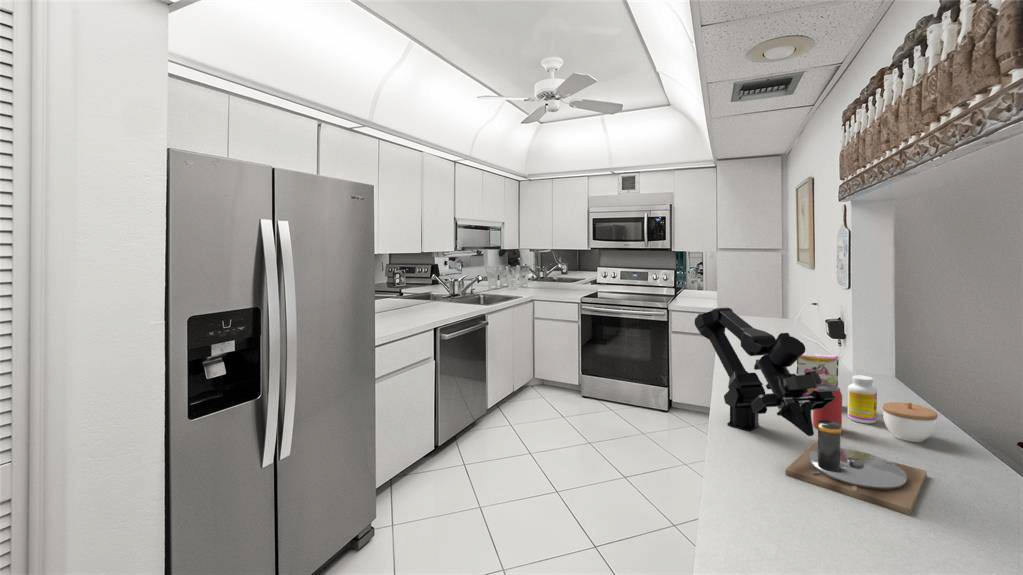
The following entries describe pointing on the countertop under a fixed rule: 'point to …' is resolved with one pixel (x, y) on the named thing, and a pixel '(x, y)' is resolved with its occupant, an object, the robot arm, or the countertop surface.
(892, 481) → the dial
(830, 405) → the beer can
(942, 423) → the countertop surface
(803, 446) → the countertop surface
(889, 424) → the lidded jar
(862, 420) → the supplement bottle
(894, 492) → the base plate
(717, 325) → the robot arm
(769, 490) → the countertop surface
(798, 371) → the candy bar box
